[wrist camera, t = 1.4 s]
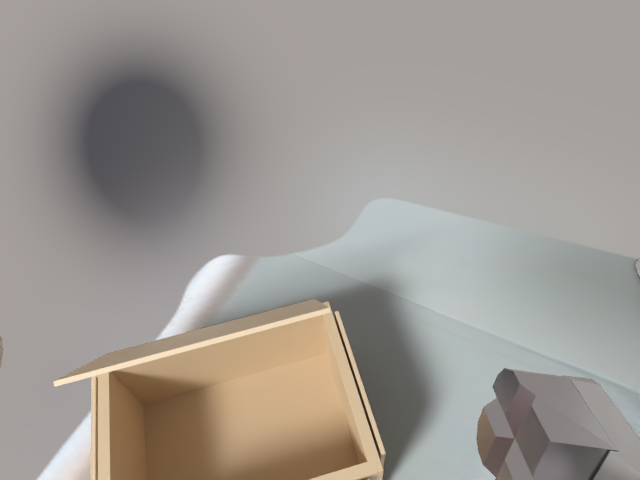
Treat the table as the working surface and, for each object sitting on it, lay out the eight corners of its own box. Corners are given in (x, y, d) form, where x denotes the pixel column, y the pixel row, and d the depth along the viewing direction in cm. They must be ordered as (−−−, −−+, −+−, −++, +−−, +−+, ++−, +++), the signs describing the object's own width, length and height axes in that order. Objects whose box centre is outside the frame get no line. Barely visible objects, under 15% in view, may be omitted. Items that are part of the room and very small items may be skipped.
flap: (314, 298, 40) (329, 307, 30) (315, 302, 40) (330, 312, 30) (107, 353, 38) (53, 381, 28) (108, 357, 38) (54, 386, 28)
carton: (338, 344, 47) (334, 299, 40) (387, 501, 39) (393, 476, 32) (129, 401, 45) (91, 364, 38) (136, 580, 36) (89, 571, 30)
